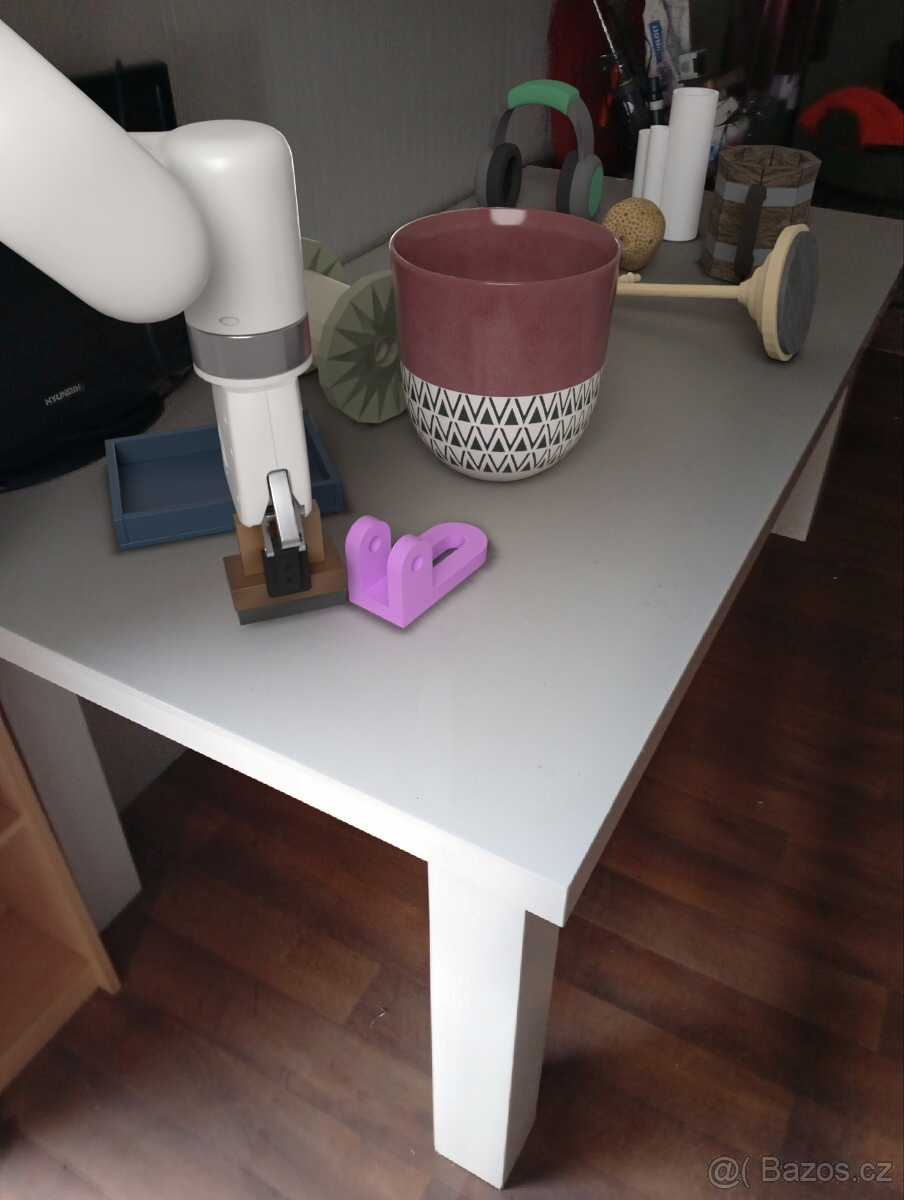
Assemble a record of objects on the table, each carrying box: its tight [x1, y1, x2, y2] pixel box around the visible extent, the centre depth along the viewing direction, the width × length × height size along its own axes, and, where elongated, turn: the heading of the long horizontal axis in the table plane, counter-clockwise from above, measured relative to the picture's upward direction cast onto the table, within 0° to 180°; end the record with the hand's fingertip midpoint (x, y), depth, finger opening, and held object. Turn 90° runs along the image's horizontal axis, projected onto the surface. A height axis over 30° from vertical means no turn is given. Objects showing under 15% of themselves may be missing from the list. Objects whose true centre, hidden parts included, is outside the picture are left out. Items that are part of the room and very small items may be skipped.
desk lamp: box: [616, 224, 819, 362], centre depth 112 cm, size 15×35×40 cm
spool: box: [298, 236, 408, 424], centre depth 100 cm, size 16×15×15 cm
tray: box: [104, 409, 345, 551], centre depth 88 cm, size 20×15×3 cm
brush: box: [222, 499, 348, 626], centre depth 71 cm, size 8×4×8 cm, turn 109°
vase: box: [631, 86, 720, 242], centre depth 143 cm, size 11×7×20 cm, turn 61°
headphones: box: [473, 78, 605, 222], centre depth 148 cm, size 19×11×20 cm, turn 66°
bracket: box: [344, 514, 488, 629], centre depth 76 cm, size 13×6×7 cm, turn 143°
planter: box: [389, 207, 623, 482], centre depth 86 cm, size 20×20×21 cm
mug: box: [700, 144, 823, 285], centre depth 130 cm, size 20×14×15 cm
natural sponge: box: [600, 197, 666, 272], centre depth 133 cm, size 9×9×10 cm
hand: (282, 569), depth 71 cm, fingers closed on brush, 4 cm apart
